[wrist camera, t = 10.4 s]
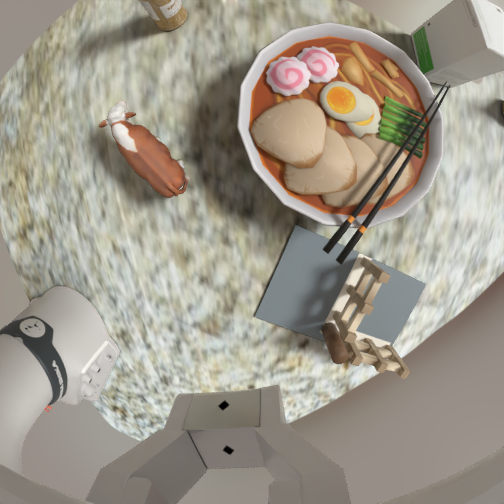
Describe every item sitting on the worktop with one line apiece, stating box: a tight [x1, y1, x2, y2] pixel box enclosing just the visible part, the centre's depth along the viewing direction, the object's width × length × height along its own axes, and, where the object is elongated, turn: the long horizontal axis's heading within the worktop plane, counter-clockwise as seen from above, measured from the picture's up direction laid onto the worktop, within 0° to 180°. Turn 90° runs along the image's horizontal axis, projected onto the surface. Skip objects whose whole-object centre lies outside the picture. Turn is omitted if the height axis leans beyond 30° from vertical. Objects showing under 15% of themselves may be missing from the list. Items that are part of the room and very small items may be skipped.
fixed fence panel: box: [340, 334, 410, 378], centre depth 35 cm, size 9×1×7 cm, turn 68°
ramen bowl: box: [237, 22, 450, 265], centre depth 29 cm, size 25×23×8 cm
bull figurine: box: [99, 101, 190, 198], centre depth 30 cm, size 4×13×8 cm, turn 37°
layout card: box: [255, 225, 426, 353], centre depth 38 cm, size 13×21×1 cm, turn 68°
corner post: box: [322, 322, 349, 364], centre depth 35 cm, size 2×2×8 cm
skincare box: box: [411, 0, 504, 87], centre depth 22 cm, size 8×7×16 cm
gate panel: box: [333, 257, 391, 344], centre depth 33 cm, size 9×1×6 cm, turn 157°
